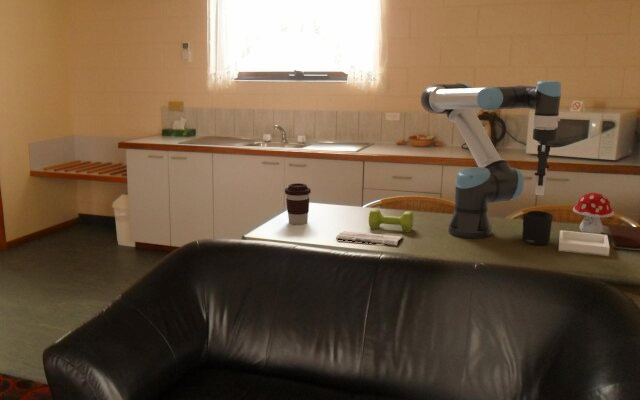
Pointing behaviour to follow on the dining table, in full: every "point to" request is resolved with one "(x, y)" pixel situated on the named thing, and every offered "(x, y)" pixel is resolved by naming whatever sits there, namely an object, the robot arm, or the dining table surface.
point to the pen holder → (537, 227)
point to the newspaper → (368, 238)
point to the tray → (584, 243)
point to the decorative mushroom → (593, 212)
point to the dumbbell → (391, 220)
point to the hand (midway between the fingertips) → (540, 190)
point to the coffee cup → (297, 203)
